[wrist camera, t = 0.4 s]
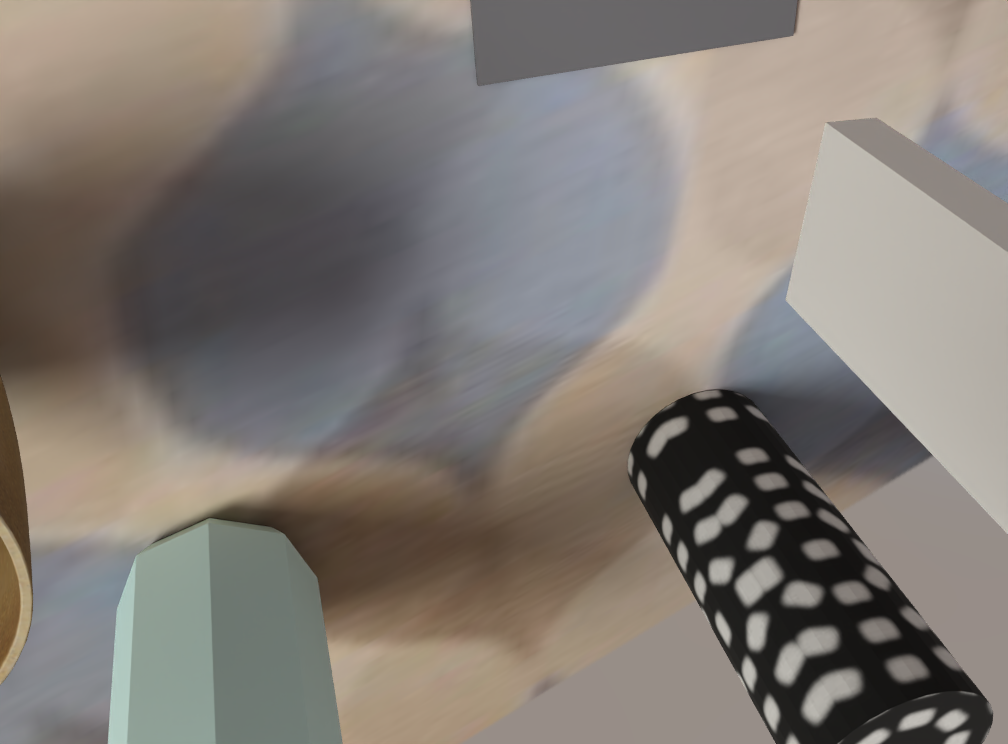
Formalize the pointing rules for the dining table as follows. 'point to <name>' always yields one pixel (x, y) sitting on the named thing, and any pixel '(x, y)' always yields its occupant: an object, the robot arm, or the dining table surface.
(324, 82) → the dining table surface
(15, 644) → the plant pot
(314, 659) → the water bottle
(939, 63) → the dining table surface
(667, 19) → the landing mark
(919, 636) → the spotted tube
